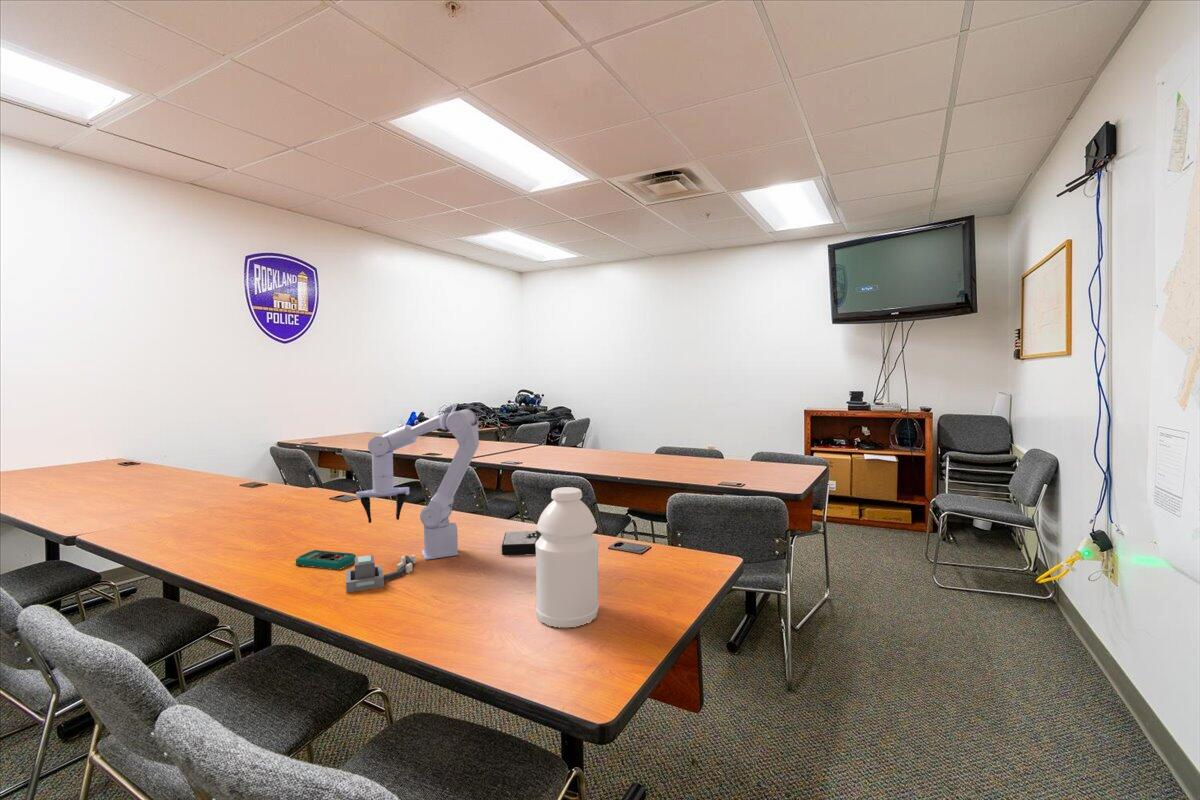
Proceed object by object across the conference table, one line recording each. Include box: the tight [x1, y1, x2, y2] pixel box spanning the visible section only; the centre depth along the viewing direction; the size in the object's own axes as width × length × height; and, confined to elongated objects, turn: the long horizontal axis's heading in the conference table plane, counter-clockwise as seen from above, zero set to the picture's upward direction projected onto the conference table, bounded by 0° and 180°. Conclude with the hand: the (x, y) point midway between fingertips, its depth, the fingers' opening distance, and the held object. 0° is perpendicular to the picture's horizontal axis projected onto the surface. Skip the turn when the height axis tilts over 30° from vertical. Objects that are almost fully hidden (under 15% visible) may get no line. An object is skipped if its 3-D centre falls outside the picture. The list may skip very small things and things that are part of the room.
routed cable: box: [383, 553, 417, 582], centre depth 141 cm, size 5×16×2 cm, turn 179°
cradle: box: [345, 564, 385, 594], centre depth 132 cm, size 8×9×2 cm
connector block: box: [354, 554, 376, 580], centre depth 133 cm, size 4×6×6 cm
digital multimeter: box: [295, 549, 357, 570], centre depth 147 cm, size 7×15×3 cm, turn 77°
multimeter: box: [501, 530, 541, 556], centre depth 160 cm, size 13×19×5 cm
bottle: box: [535, 486, 600, 629], centre depth 114 cm, size 14×14×28 cm
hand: (383, 520), depth 155 cm, fingers open, 7 cm apart
